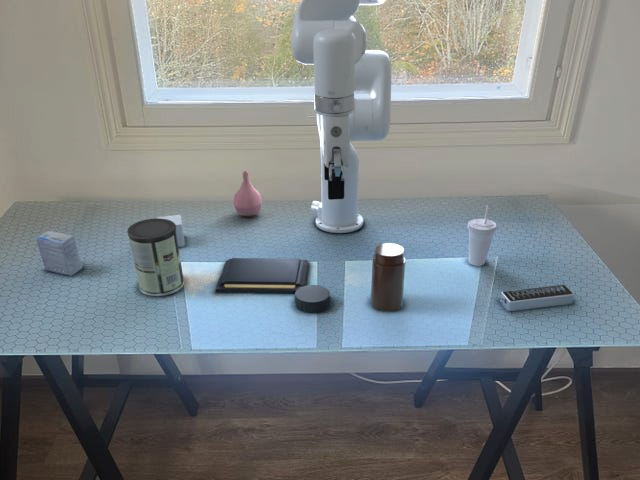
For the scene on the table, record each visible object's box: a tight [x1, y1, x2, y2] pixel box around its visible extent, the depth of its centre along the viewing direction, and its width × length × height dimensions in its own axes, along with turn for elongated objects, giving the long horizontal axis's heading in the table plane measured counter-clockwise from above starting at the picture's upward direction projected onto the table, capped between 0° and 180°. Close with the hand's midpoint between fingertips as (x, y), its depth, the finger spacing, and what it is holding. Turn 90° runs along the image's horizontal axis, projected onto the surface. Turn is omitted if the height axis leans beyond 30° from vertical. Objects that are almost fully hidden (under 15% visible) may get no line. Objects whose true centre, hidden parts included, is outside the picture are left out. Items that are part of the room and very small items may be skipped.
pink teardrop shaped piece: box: [233, 170, 263, 218], centre depth 174 cm, size 8×8×12 cm
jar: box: [370, 242, 407, 313], centre depth 134 cm, size 7×7×13 cm
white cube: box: [156, 214, 186, 248], centre depth 163 cm, size 6×6×6 cm
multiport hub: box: [499, 284, 575, 312], centre depth 136 cm, size 4×14×2 cm, turn 101°
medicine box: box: [35, 230, 83, 277], centre depth 151 cm, size 8×4×9 cm, turn 65°
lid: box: [294, 284, 331, 314], centre depth 138 cm, size 7×7×3 cm
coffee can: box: [126, 217, 185, 297], centre depth 142 cm, size 10×10×14 cm
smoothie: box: [467, 205, 498, 267], centre depth 148 cm, size 6×6×14 cm
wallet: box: [215, 257, 310, 294], centre depth 148 cm, size 20×2×15 cm
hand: (333, 188), depth 132 cm, fingers open, 9 cm apart
